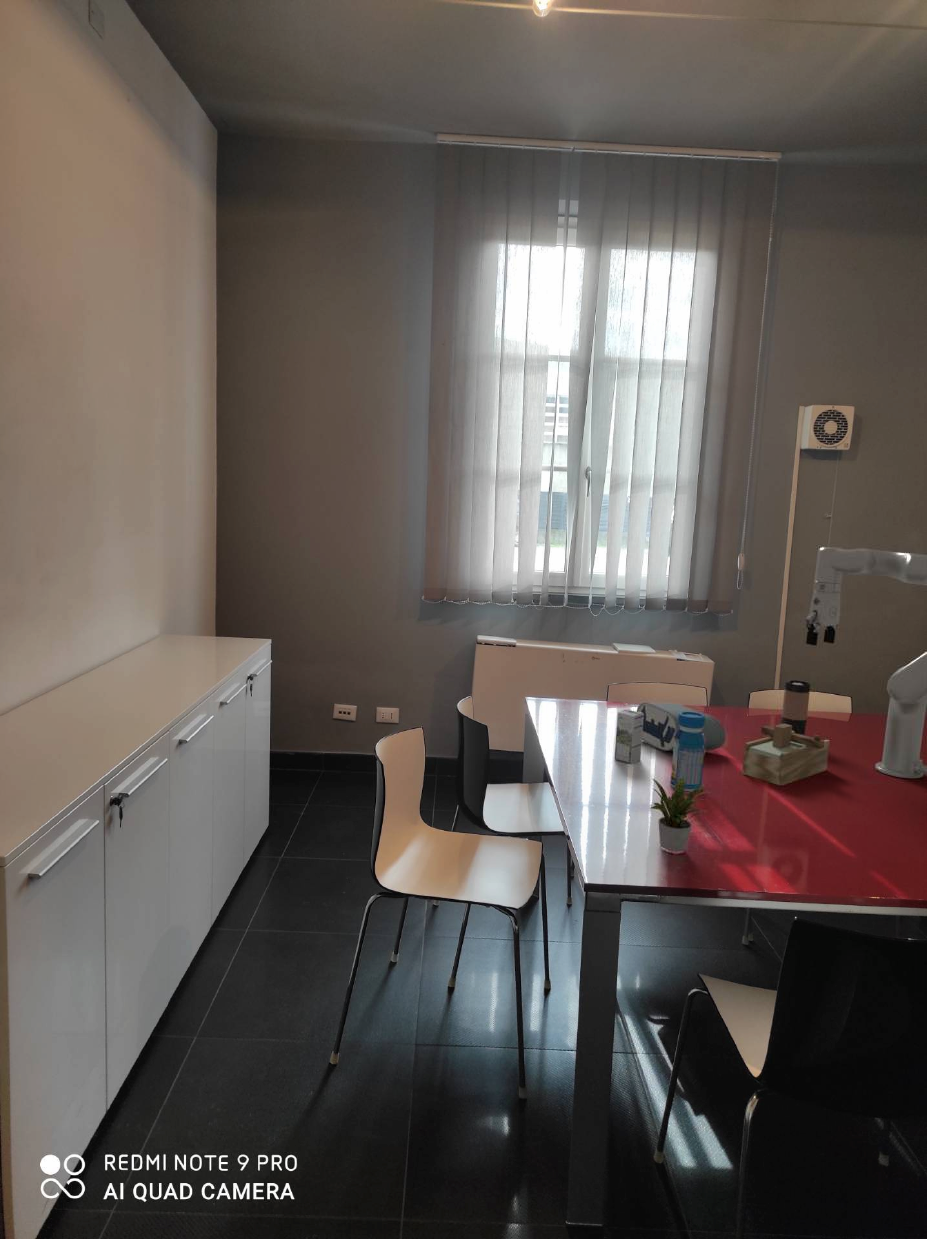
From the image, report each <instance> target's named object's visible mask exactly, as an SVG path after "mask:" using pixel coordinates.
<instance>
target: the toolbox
mask: <svg viewBox="0 0 927 1239" xmlns="http://www.w3.org/2000/svg"><path fill="white" fill-rule="evenodd" d="M792 732H793V733H794V731H792ZM769 741H773V736H769V735H768V736H765V737H762V738H758V739H754V740H751V741H748V742H745V743H744V752H743V753H744V754H743V761H742V762H743V763H742V771H741V773H742V775H746V776H750V777H753V778H755V779H758V780H760V781H761V780H762V781H765V782H768V783H771V784H774V785H777V786H780V785H782V786H784V785H787V783H788V784H790V783H793V781H794V782H796V781H799V780H802V779H805V778H808V777H810V776H813V775H817V774H819V773H822V772H825V770H826V771H827V769H828V768H827V767H828V758H829V750H830V748H829V747H830V740H829V739H824V748H821V749H817V748H814V747H810V746H803V747H800V748H796V749H793V750H790V751H786V752H783V753H781V758H780V760H778V759H775V758H771V757H768V756H764V755H761V754H757V753H754V752H750V751H749V747H751V746H755V745H758V744H762V743H765V742H769Z"/></svg>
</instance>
